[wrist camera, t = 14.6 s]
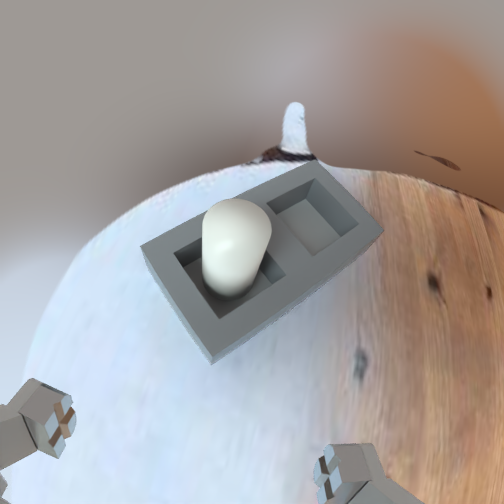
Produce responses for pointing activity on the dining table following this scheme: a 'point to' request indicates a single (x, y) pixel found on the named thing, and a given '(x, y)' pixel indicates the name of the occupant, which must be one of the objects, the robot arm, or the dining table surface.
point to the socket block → (265, 258)
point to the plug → (233, 247)
